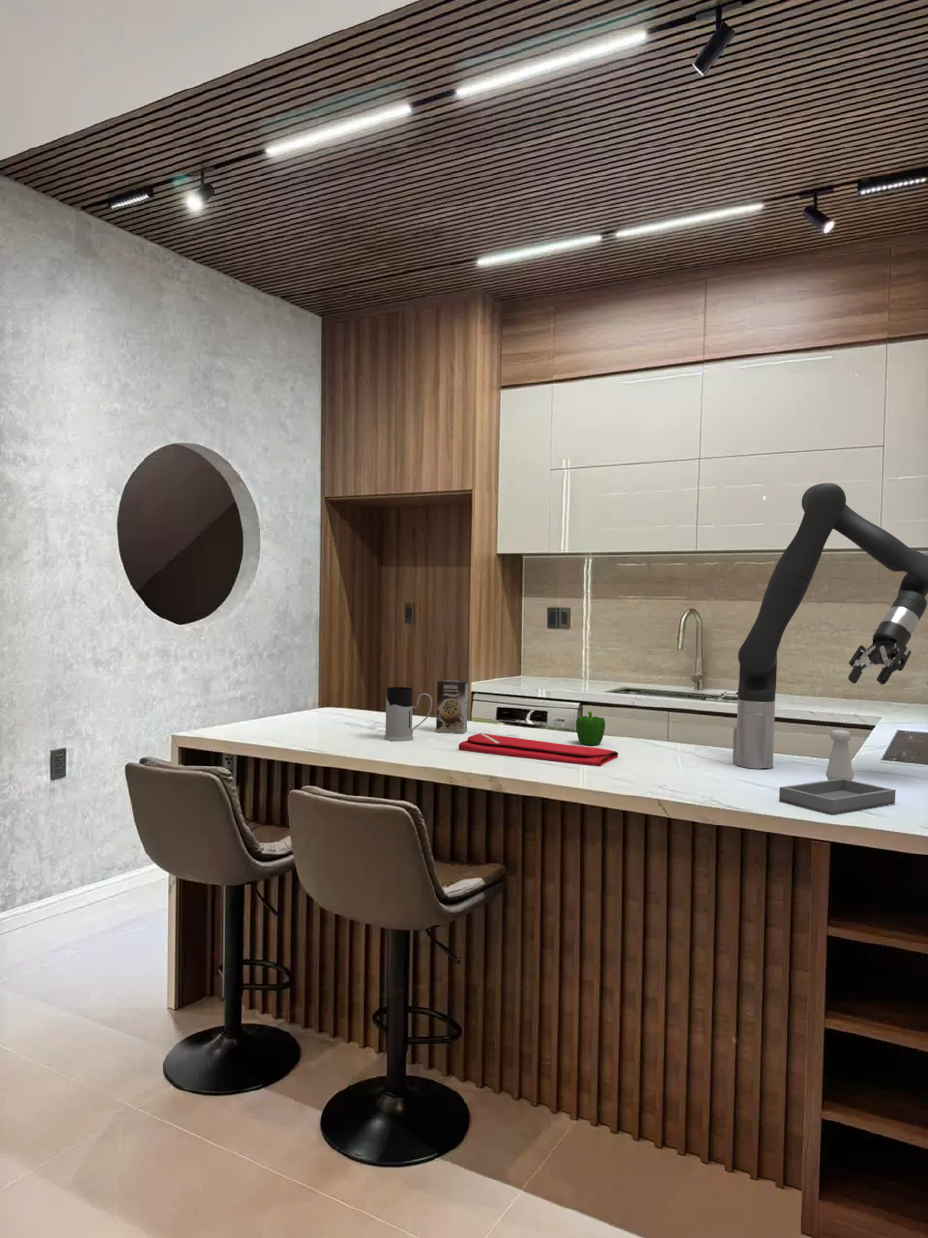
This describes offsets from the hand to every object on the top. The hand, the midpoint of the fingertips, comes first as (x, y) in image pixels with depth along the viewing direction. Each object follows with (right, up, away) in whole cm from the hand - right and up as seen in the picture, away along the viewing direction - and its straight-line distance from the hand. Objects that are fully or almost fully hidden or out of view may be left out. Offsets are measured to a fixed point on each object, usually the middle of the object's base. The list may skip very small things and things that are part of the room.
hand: (865, 682), depth 206 cm
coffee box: (-100, -21, +64) cm, 120 cm away
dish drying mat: (-76, -22, +29) cm, 85 cm away
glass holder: (-113, -21, +48) cm, 124 cm away
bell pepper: (-59, -22, +46) cm, 78 cm away
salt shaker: (-8, -24, -4) cm, 26 cm away
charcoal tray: (-16, -24, -21) cm, 36 cm away
